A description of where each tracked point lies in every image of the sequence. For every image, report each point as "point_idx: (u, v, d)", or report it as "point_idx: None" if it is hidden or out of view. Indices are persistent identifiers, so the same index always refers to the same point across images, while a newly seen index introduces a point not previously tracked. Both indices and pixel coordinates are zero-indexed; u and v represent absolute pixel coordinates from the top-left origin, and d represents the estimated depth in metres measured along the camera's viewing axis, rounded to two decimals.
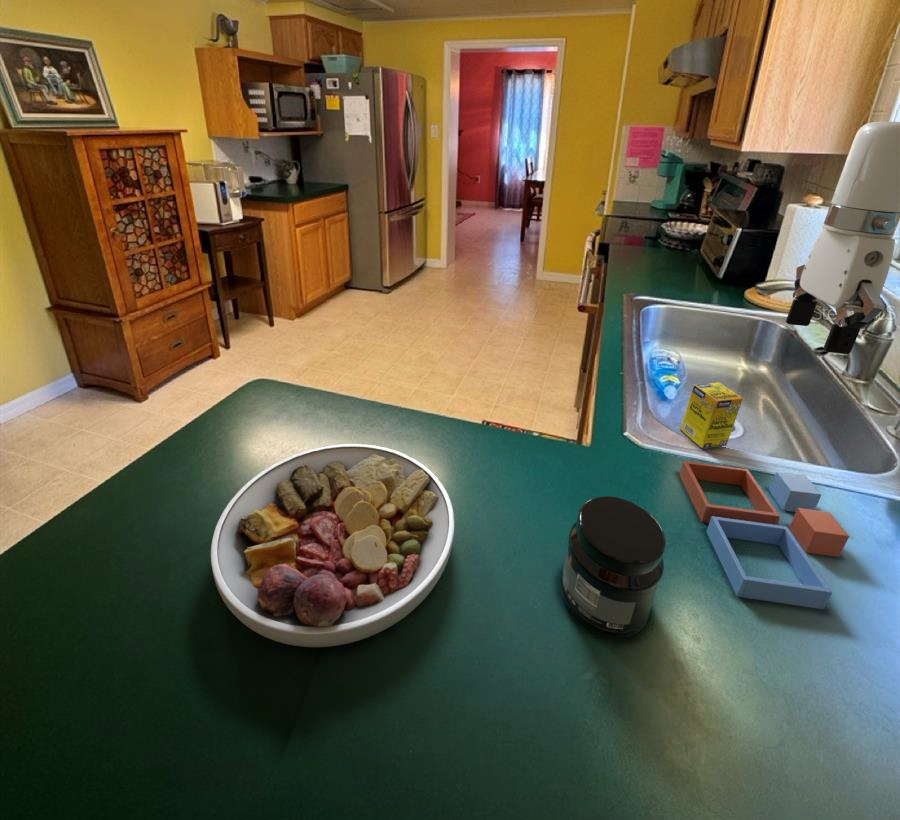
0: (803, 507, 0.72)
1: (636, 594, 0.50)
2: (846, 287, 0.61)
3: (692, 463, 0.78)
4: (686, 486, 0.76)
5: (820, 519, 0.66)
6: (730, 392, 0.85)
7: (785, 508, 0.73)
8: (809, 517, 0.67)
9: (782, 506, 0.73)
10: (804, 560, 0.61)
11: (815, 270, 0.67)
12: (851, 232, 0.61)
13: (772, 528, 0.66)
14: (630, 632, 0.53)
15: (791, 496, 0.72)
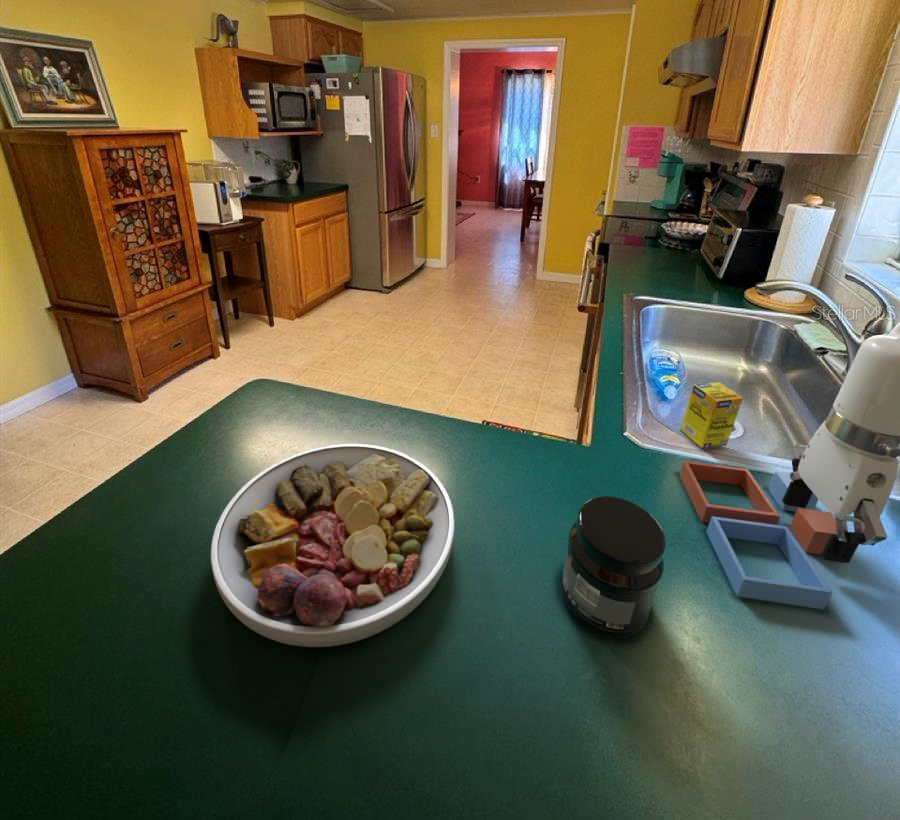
0: None
1: (636, 594, 0.50)
2: (847, 503, 0.59)
3: (692, 463, 0.78)
4: (686, 486, 0.76)
5: (820, 519, 0.66)
6: (730, 392, 0.85)
7: (784, 508, 0.73)
8: (809, 517, 0.67)
9: (781, 506, 0.73)
10: (804, 560, 0.61)
11: (814, 466, 0.64)
12: (854, 448, 0.58)
13: (772, 528, 0.66)
14: (630, 632, 0.53)
15: None
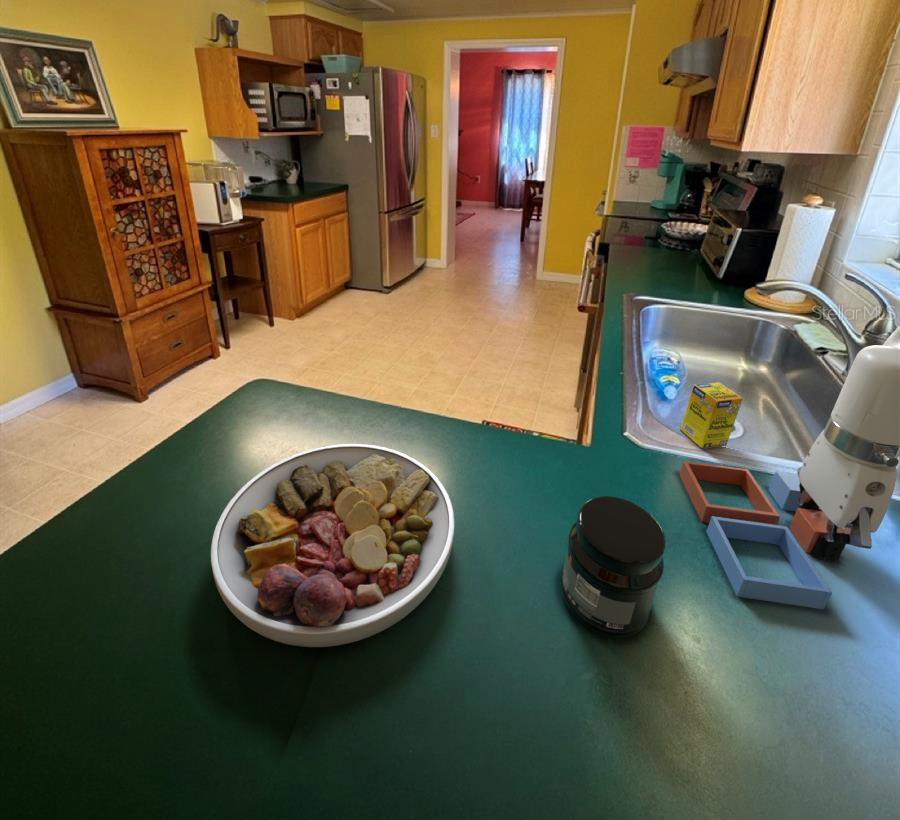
0: None
1: (636, 594, 0.50)
2: (847, 512, 0.60)
3: (692, 463, 0.78)
4: (686, 486, 0.76)
5: (820, 519, 0.66)
6: (730, 392, 0.85)
7: (784, 507, 0.73)
8: (809, 517, 0.67)
9: (781, 505, 0.73)
10: (804, 560, 0.61)
11: (815, 475, 0.65)
12: (852, 457, 0.59)
13: (772, 528, 0.66)
14: (630, 632, 0.53)
15: (790, 495, 0.72)
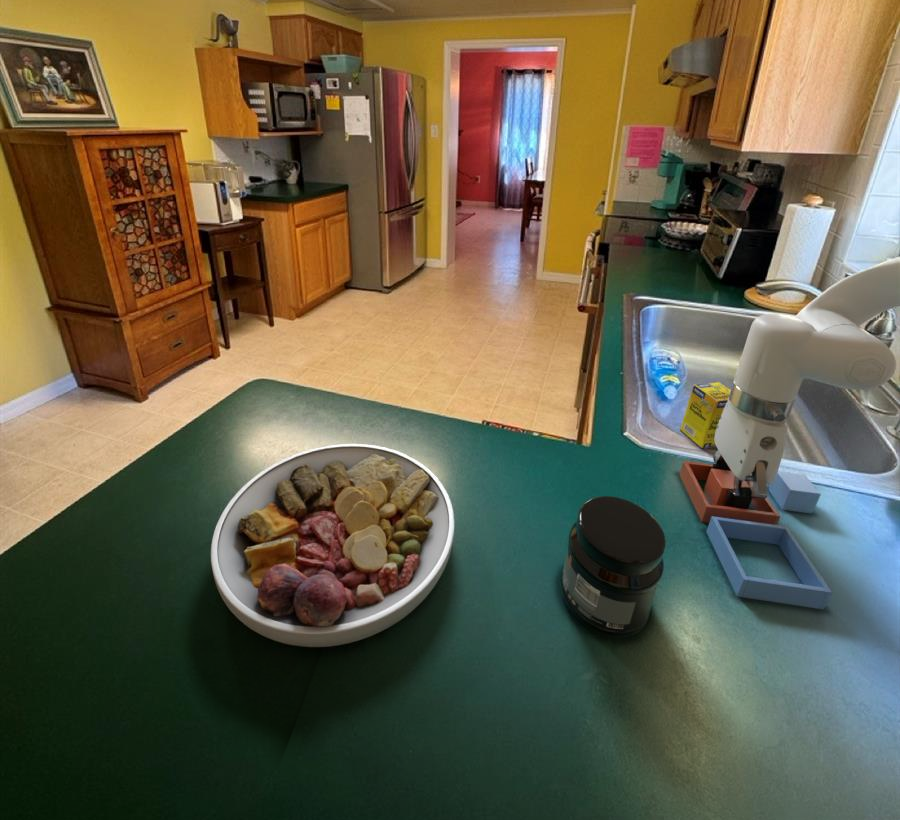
0: (802, 506, 0.72)
1: (636, 594, 0.50)
2: (745, 465, 0.66)
3: (692, 463, 0.78)
4: (686, 486, 0.76)
5: (729, 477, 0.73)
6: None
7: (784, 507, 0.73)
8: (719, 476, 0.73)
9: (781, 505, 0.73)
10: (804, 560, 0.61)
11: (724, 435, 0.71)
12: (748, 415, 0.65)
13: (772, 528, 0.66)
14: (630, 632, 0.53)
15: (790, 495, 0.72)
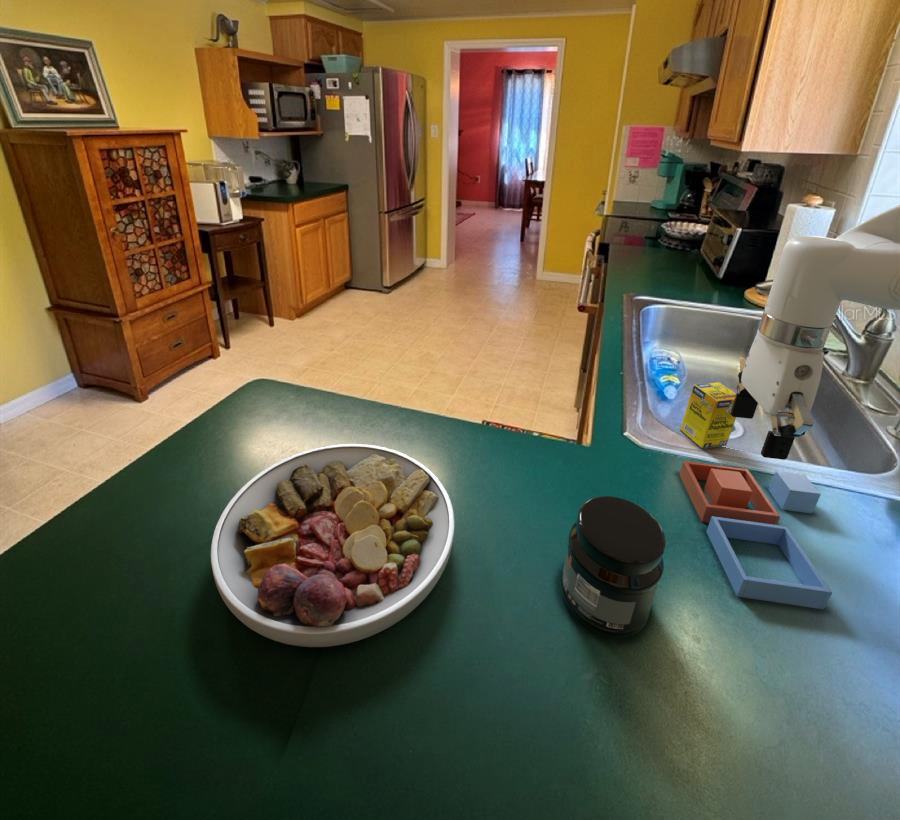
0: (802, 506, 0.72)
1: (636, 594, 0.50)
2: (778, 398, 0.62)
3: (692, 463, 0.78)
4: (686, 486, 0.76)
5: (729, 477, 0.73)
6: (730, 392, 0.85)
7: (784, 507, 0.73)
8: (719, 476, 0.73)
9: (781, 505, 0.73)
10: (804, 560, 0.61)
11: (753, 372, 0.67)
12: (781, 344, 0.61)
13: (772, 528, 0.66)
14: (630, 632, 0.53)
15: (790, 495, 0.72)
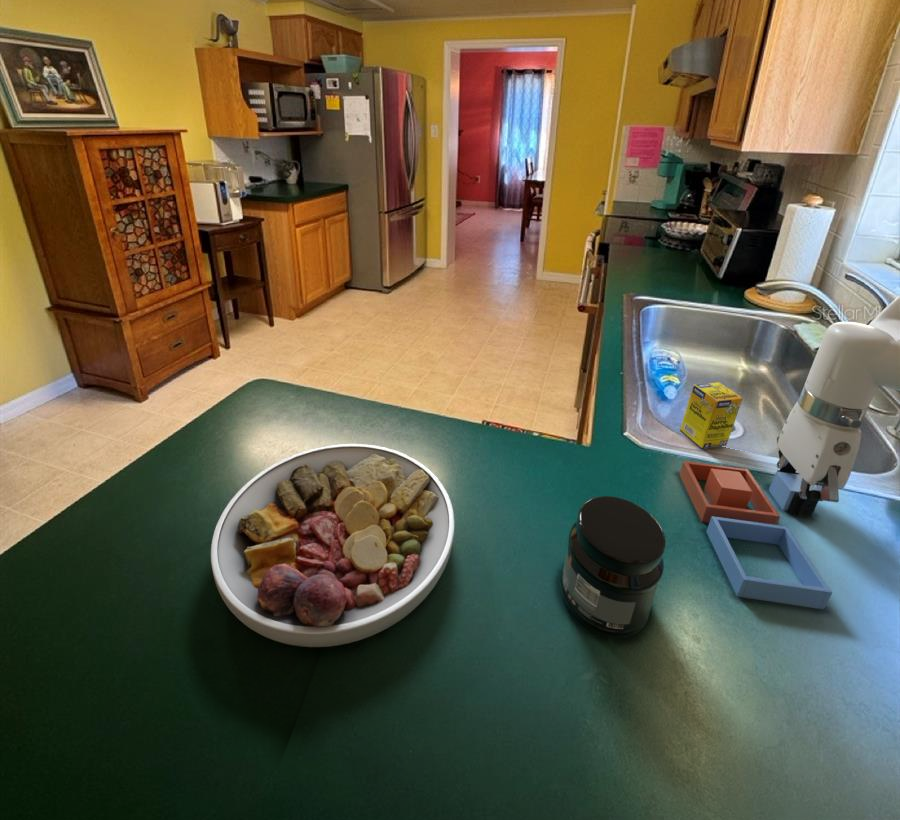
0: None
1: (636, 594, 0.50)
2: (817, 470, 0.67)
3: (692, 463, 0.78)
4: (686, 486, 0.76)
5: (729, 477, 0.73)
6: (730, 392, 0.85)
7: (785, 508, 0.73)
8: (719, 476, 0.73)
9: (782, 506, 0.73)
10: (804, 560, 0.61)
11: (791, 440, 0.72)
12: (822, 421, 0.66)
13: (772, 528, 0.66)
14: (630, 632, 0.53)
15: (790, 496, 0.72)
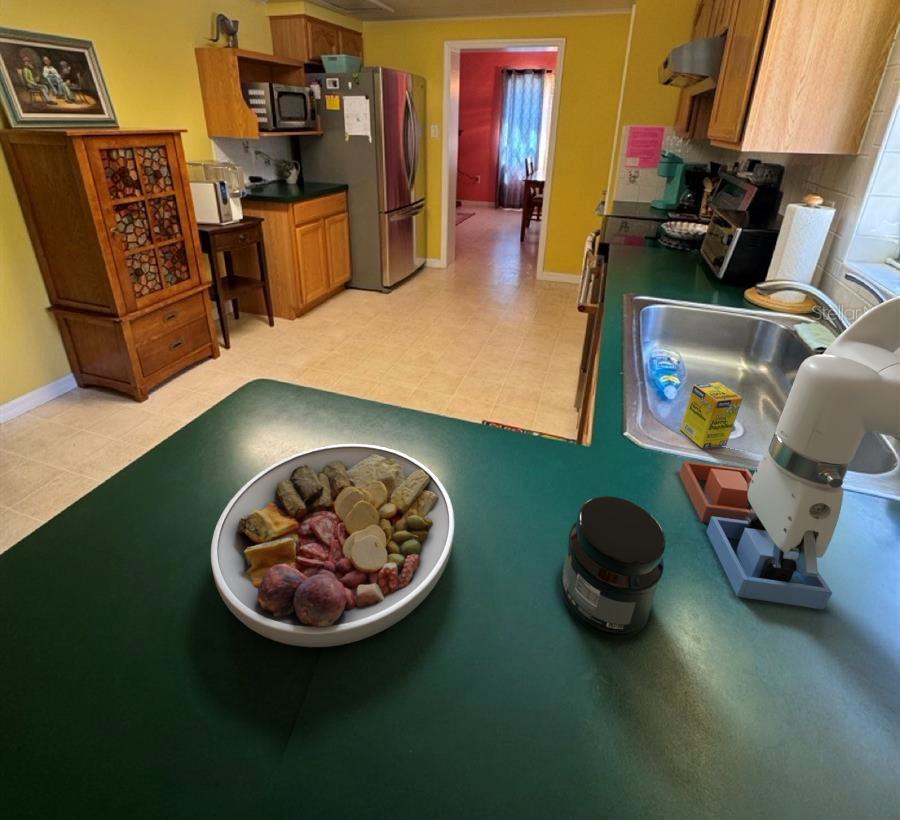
0: None
1: (636, 594, 0.50)
2: (791, 535, 0.55)
3: (692, 463, 0.78)
4: (686, 486, 0.76)
5: (729, 477, 0.73)
6: (730, 392, 0.85)
7: (754, 574, 0.61)
8: (719, 476, 0.73)
9: (750, 571, 0.61)
10: None
11: (761, 493, 0.60)
12: (795, 476, 0.54)
13: None
14: (630, 632, 0.53)
15: (760, 561, 0.60)
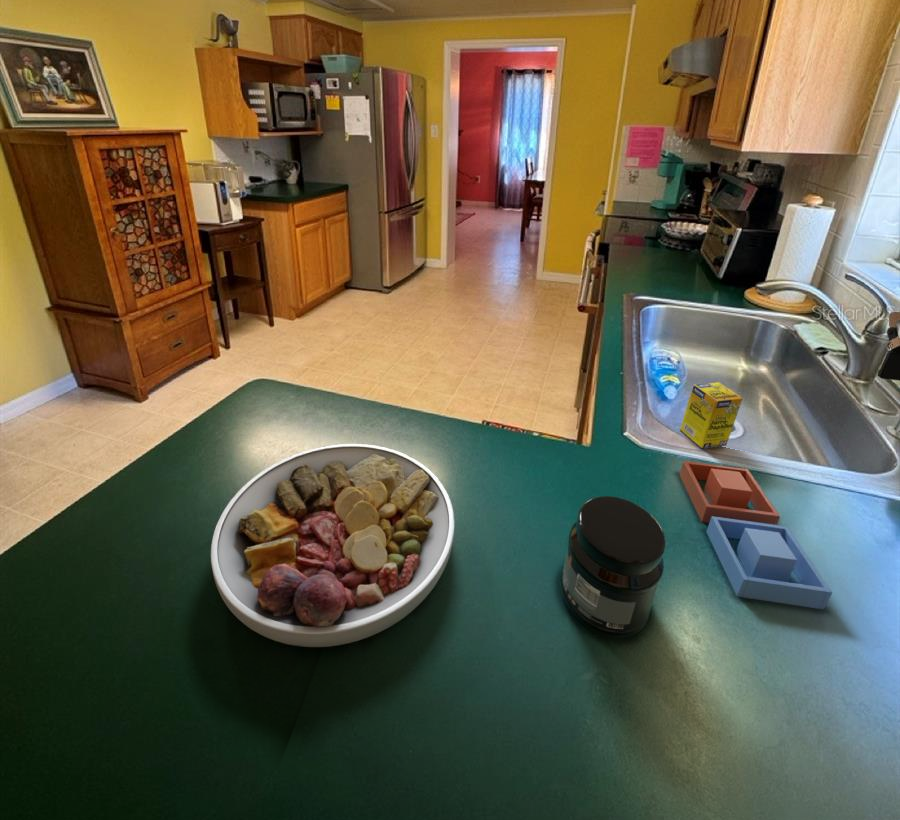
0: (775, 574, 0.60)
1: (636, 594, 0.50)
2: None
3: (692, 463, 0.78)
4: (686, 486, 0.76)
5: (729, 477, 0.73)
6: (730, 392, 0.85)
7: (754, 574, 0.61)
8: (719, 476, 0.73)
9: (750, 571, 0.61)
10: (804, 560, 0.61)
11: None
12: None
13: (772, 528, 0.66)
14: (630, 632, 0.53)
15: (760, 561, 0.60)
